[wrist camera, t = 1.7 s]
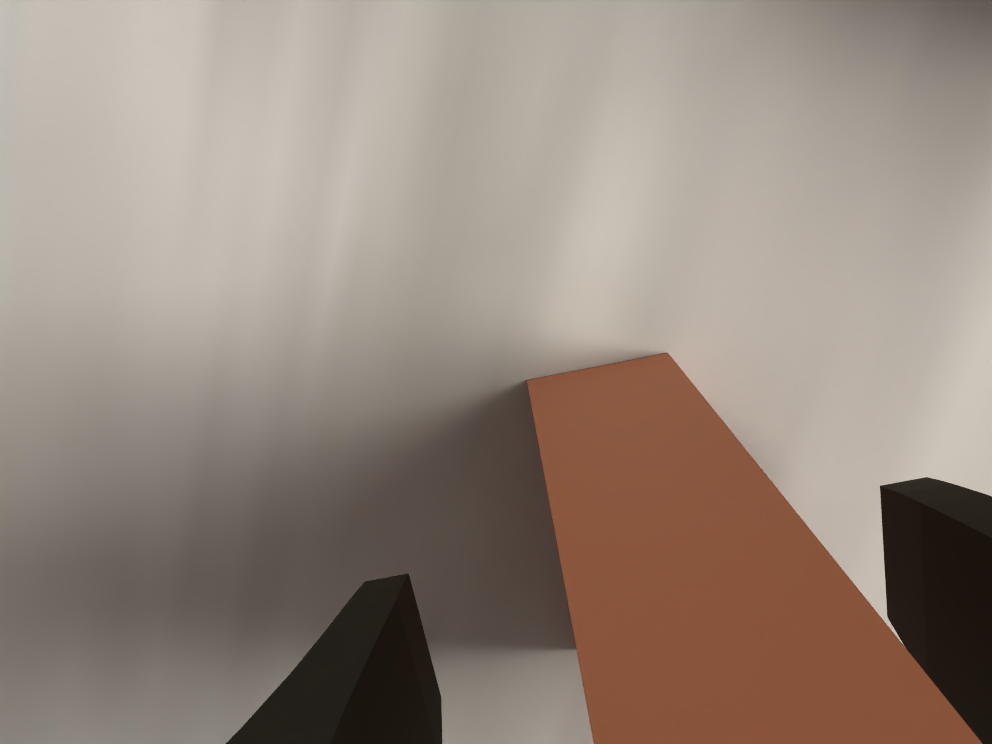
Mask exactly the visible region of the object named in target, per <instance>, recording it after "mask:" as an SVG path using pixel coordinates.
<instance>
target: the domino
mask: <svg viewBox="0 0 992 744" xmlns="http://www.w3.org/2000/svg"><path fill="white" fill-rule="evenodd" d="M527 385H528V390H529V395H530V401H531V406H532V412H533V417H534V422H535V428H536V433H537V439H538V444H539V449H540V455H541V460H542V466H543V471H544V476H545V482H546V487H547V493H548V498H549V503H550V509H551V514H552V520H553V525H554V530H555V536H556V541H557V547H558V552H559V557H560V563H561V568H562V574H563V579H564V584H565V590H566V595H567V600H568V606H569V611H570V617H571V622H572V627H573V633H574V638H575V644H576V649H577V654H578V660H579V665H580V671H581V676H582V681H583V687H584V692H585V698H586V703H587V708H588V714H589V719H590V725H591V730H592V735H593V741H594V744H982V742H981V741H980V740H979V739H978V737H977V736H976V735H975V734H974V732H973V731H972V730H971V729H970V728H969V726H968V725H967V724H966V723H965V721H964V720H963V719H962V718H961V716H960V715H959V714H958V713H957V711H956V710H955V709H954V708H953V706H952V705H951V704H950V703H949V701H948V700H947V699H946V698H945V696H944V695H943V694H942V693H941V692H940V690H939V689H938V688H937V687H936V685H935V684H934V683H933V682H932V680H931V679H930V678H929V677H928V675H927V674H926V673H925V672H924V670H923V669H922V668H921V667H920V665H919V664H918V663H917V662H916V660H915V659H914V658H913V657H912V655H911V654H910V653H909V652H908V651H907V649H906V648H905V647H904V646H903V644H902V643H901V642H900V641H899V639H898V638H897V637H896V636H895V634H894V633H893V632H892V631H891V629H890V628H889V627H888V626H887V624H886V623H885V622H884V621H883V619H882V618H881V617H880V616H879V614H878V613H877V612H876V611H875V610H874V608H873V607H872V606H871V605H870V603H869V602H868V601H867V600H866V598H865V597H864V596H863V595H862V593H861V592H860V591H859V590H858V588H857V587H856V586H855V585H854V583H853V582H852V581H851V580H850V578H849V577H848V576H847V575H846V574H845V572H844V571H843V570H842V569H841V567H840V566H839V565H838V564H837V562H836V561H835V560H834V559H833V557H832V556H831V555H830V554H829V552H828V551H827V550H826V549H825V547H824V546H823V545H822V544H821V542H820V541H819V540H818V539H817V537H816V536H815V535H814V534H813V533H812V531H811V530H810V529H809V528H808V526H807V525H806V524H805V523H804V521H803V520H802V519H801V518H800V516H799V515H798V514H797V513H796V511H795V510H794V509H793V508H792V506H791V505H790V504H789V503H788V501H787V500H786V499H785V498H784V496H783V495H782V494H781V493H780V492H779V490H778V489H777V488H776V487H775V485H774V484H773V483H772V482H771V480H770V479H769V478H768V477H767V475H766V474H765V473H764V472H763V470H762V469H761V468H760V467H759V465H758V464H757V463H756V462H755V460H754V459H753V458H752V457H751V456H750V454H749V453H748V452H747V451H746V449H745V448H744V447H743V446H742V444H741V443H740V442H739V441H738V439H737V438H736V437H735V436H734V434H733V433H732V432H731V431H730V429H729V428H728V427H727V426H726V424H725V423H724V422H723V421H722V419H721V418H720V417H719V416H718V415H717V413H716V412H715V411H714V410H713V408H712V407H711V406H710V405H709V403H708V402H707V401H706V400H705V398H704V397H703V396H702V395H701V393H700V392H699V391H698V390H697V388H696V387H695V386H694V385H693V383H692V382H691V381H690V380H689V378H688V377H687V376H686V375H685V374H684V372H683V371H682V370H681V369H680V367H679V366H678V365H677V364H676V362H675V361H674V360H673V359H672V357H671V356H670V355H669V354H668V353H665V354H659V355H654V356H649V357H644V358H639V359H634V360H628V361H623V362H618V363H613V364H608V365H603V366H597V367H592V368H587V369H582V370H577V371H572V372H567V373H561V374H556V375H551V376H546V377H541V378H536V379H530V380H527Z"/></svg>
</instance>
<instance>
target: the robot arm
mask: <svg viewBox="0 0 992 744" xmlns="http://www.w3.org/2000/svg"><path fill="white" fill-rule="evenodd" d="M880 492H881V510H882V527H883V545H884V563H885V580H886V598H887V616H888V619H889V620H890V622H891V624H892V625H893V627H894V629H895V631H896V632H897V634H898V636H899V637H900V639H901V641H902V642H903V644H904V646H905V648H906V649H907V651H908V652H909V653H910V654H911V655H912V657H913V658H914V659H915V660H916V662H917V663H918V664H919V665H920V667H921V668H922V669H923V670H924V672H925V673H926V674H927V675H928V677H929V678H930V679H931V680H932V682H933V683H934V684H935V685H936V687H937V688H938V689H939V690H940V692H941V693H942V694H943V695H944V696H945V698H946V699H947V700H948V701H949V703H950V704H951V705H952V706H953V708H954V709H955V710H956V711H957V713H958V714H959V715H960V716H961V718H962V719H963V720H964V721H965V723H966V724H967V725H968V726H969V728H970V729H971V730H972V731H973V732H974V734H975V735H976V736H977V737H978V739H979V740H980V741H981V742H982V744H992V497H991V496H989V495H986V494H983V493H979V492H976V491H973V490H970V489H967V488H964V487H961V486H958V485H954V484H951V483H947V482H944V481H940V480H936V479H932V478H927V477H926V478H920V479H915V480H910V481H904V482H899V483H893V484H888V485H883V486H880ZM226 744H442V713H441V695H440V691H439V687H438V683H437V680H436V676H435V672H434V668H433V664H432V661H431V657H430V653H429V649H428V645H427V642H426V638H425V634H424V630H423V626H422V623H421V619H420V615H419V611H418V607H417V604H416V600H415V596H414V592H413V588H412V585H411V581H410V577H409V574H404V575H398V576H393V577H388V578H382V579H377V580H372V581H366V582H364V583H363V585H362V586H361V587H360V588H359V589H358V590H357V591H356V593H355V594H354V595H353V596H352V598H351V599H350V600H349V601H348V603H347V604H346V605H345V607H344V608H343V609H342V610H341V612H340V613H339V614H338V615H337V617H336V618H335V619H334V621H333V622H332V623H331V624H330V626H329V627H328V628H327V629H326V631H325V632H324V633H323V634H322V636H321V637H320V638H319V639H318V641H317V642H316V643H315V644H314V645H313V647H312V648H311V649H310V650H309V652H308V653H307V654H306V655H305V657H304V658H303V659H302V660H301V661H300V663H299V664H298V665H297V666H296V668H295V669H294V670H293V671H292V672H291V674H290V675H289V676H288V677H287V678H286V679H285V680H284V681H283V682H282V684H281V685H280V686H279V687H278V688H277V689H276V690H275V691H274V692H273V694H272V695H271V696H270V697H269V698H268V699H267V700H266V701H265V702H264V703H263V705H262V706H261V707H260V708H259V709H258V710H257V711H256V712H255V713H254V715H253V716H252V717H251V718H250V719H249V720H248V721H247V722H246V723H245V724H244V726H243V727H242V728H241V729H240V730H239V731H238V732H237V733H236V734H235V735H234V736H233V737H232V738H231V739H230V740H229V741H228V742H227V743H226Z"/></svg>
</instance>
